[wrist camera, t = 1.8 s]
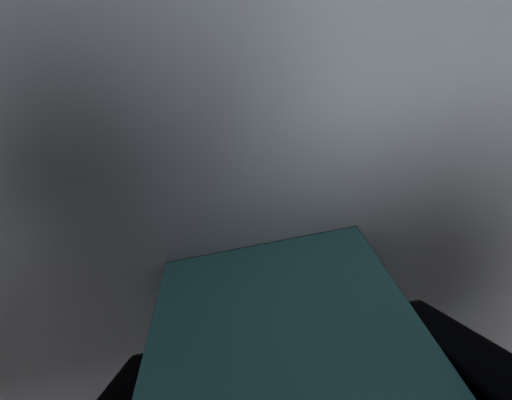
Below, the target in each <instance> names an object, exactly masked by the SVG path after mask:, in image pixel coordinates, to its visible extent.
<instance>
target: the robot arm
mask: <svg viewBox="0 0 512 400" xmlns="http://www.w3.org/2000/svg"><path fill="white" fill-rule="evenodd" d="M409 303H410V304H411V306H412V307H413V309H414V310H415V312H416V313H417V315H418V316H419V317H420V319H421V320H422V322H423V323H424V325H425V326H426V328H427V329H428V330H429V332H430V333H431V335H432V336H433V338H434V339H435V341H436V342H437V344H438V345H439V346H440V348H441V349H442V351H443V352H444V354H445V355H446V357H447V358H448V359H449V361H450V362H451V364H452V365H453V367H454V368H455V370H456V371H457V373H458V374H459V375H460V377H461V378H462V380H463V381H464V383H465V384H466V386H467V387H468V388H469V390H470V391H471V393H472V394H473V396H474V397H475V399H476V400H512V353H510V352H509V351H507V350H505V349H504V348H502V347H500V346H498V345H497V344H495V343H493V342H492V341H490V340H488V339H486V338H485V337H483V336H481V335H480V334H478V333H476V332H475V331H473V330H471V329H469V328H468V327H466V326H464V325H463V324H461V323H459V322H457V321H456V320H454V319H452V318H451V317H449V316H447V315H446V314H444V313H442V312H440V311H439V310H437V309H435V308H434V307H432V306H430V305H428V304H427V303H425V302H423V301H420V300H415V301H410V302H409ZM142 357H143V353H141V354H136V355H133V356H132V357H130V359H129V360H128V361H127V362H126V363H125V365H124V366H123V367H122V368H121V370H120V371H119V372H118V373H117V375H116V376H115V377H114V379H113V380H112V381H111V382H110V384H109V385H108V386H107V387H106V389H105V390H104V391H103V392H102V394H101V395H100V396H99V397H98V399H97V400H132V397H133V393H134V389H135V385H136V381H137V377H138V373H139V369H140V365H141V361H142Z"/></svg>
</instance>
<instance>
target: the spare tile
mask: <svg viewBox="0 0 512 400" xmlns="http://www.w3.org/2000/svg"><path fill="white" fill-rule="evenodd" d="M132 400H476V399H475V397H474V396H473V394H472V393H471V391H470V390H469V388H468V387H467V386H466V384H465V383H464V381H463V380H462V378H461V377H460V375H459V374H458V373H457V371H456V370H455V368H454V367H453V365H452V364H451V362H450V361H449V359H448V358H447V357H446V355H445V354H444V352H443V351H442V349H441V348H440V346H439V345H438V344H437V342H436V341H435V339H434V338H433V336H432V335H431V333H430V332H429V330H428V329H427V328H426V326H425V325H424V323H423V322H422V320H421V319H420V317H419V316H418V315H417V313H416V312H415V310H414V309H413V307H412V306H411V304H410V303H409V301H408V300H407V299H406V297H405V296H404V294H403V293H402V291H401V290H400V288H399V287H398V285H397V284H396V283H395V281H394V280H393V278H392V277H391V275H390V274H389V272H388V271H387V270H386V268H385V267H384V265H383V264H382V262H381V261H380V259H379V258H378V256H377V255H376V254H375V252H374V251H373V249H372V248H371V246H370V245H369V243H368V242H367V241H366V239H365V238H364V236H363V235H362V233H361V232H360V230H359V229H358V227H357V226H354V227H349V228H344V229H339V230H334V231H329V232H323V233H318V234H313V235H308V236H303V237H297V238H292V239H287V240H282V241H277V242H272V243H266V244H261V245H256V246H251V247H246V248H240V249H235V250H230V251H225V252H220V253H215V254H209V255H204V256H199V257H194V258H189V259H184V260H178V261H173V262H168V263H166V265H165V269H164V273H163V277H162V281H161V285H160V289H159V293H158V297H157V301H156V305H155V309H154V313H153V317H152V321H151V325H150V329H149V333H148V337H147V341H146V345H145V349H144V353H143V357H142V361H141V365H140V369H139V373H138V377H137V381H136V385H135V389H134V393H133V397H132Z"/></svg>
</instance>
